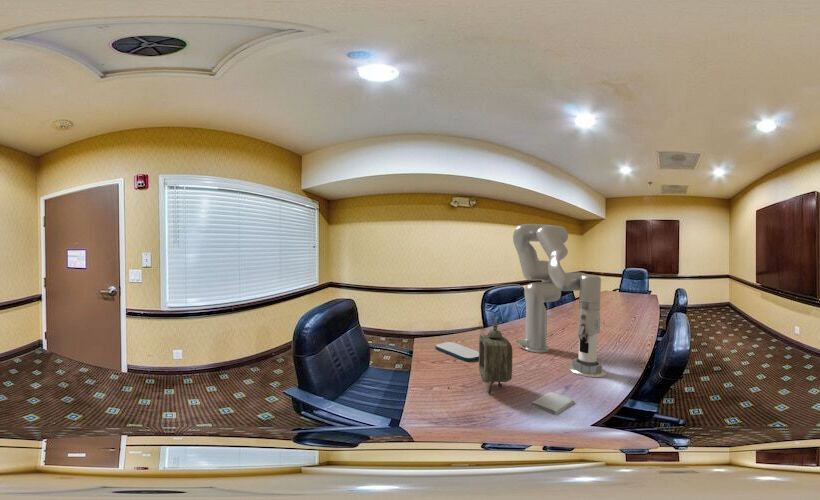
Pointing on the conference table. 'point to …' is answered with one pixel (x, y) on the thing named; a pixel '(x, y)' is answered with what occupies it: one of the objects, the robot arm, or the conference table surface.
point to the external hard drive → (458, 351)
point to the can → (589, 350)
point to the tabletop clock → (495, 357)
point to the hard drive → (552, 402)
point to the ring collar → (587, 368)
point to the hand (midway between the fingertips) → (587, 350)
